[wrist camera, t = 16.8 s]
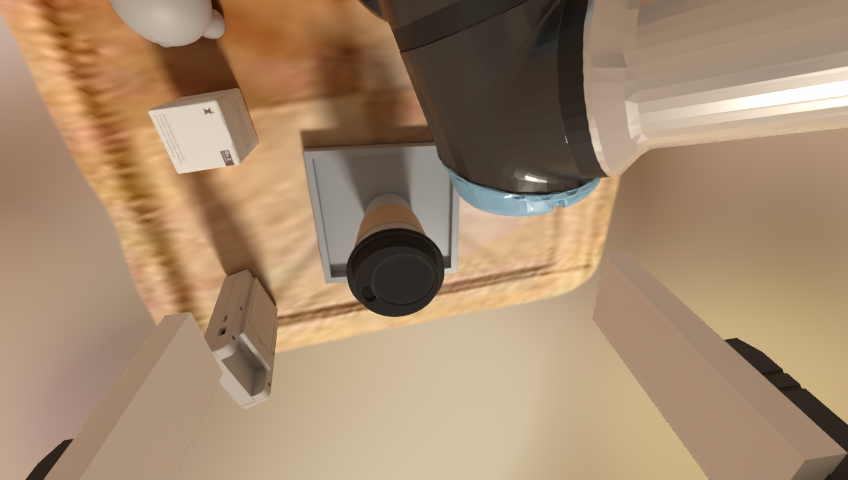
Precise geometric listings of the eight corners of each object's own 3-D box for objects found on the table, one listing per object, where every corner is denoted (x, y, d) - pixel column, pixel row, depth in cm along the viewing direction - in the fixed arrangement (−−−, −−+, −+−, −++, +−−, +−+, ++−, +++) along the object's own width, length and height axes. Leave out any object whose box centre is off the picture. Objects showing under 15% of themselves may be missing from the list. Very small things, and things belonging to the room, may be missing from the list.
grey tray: (305, 147, 43) (303, 151, 41) (458, 140, 44) (461, 144, 43) (327, 275, 51) (325, 283, 50) (454, 265, 53) (456, 272, 51)
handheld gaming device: (251, 265, 49) (222, 277, 49) (231, 342, 36) (193, 358, 36) (283, 314, 54) (257, 324, 53) (275, 397, 41) (242, 411, 41)
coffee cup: (336, 218, 47) (323, 291, 34) (385, 162, 44) (392, 218, 31) (393, 259, 51) (401, 337, 38) (442, 210, 48) (469, 276, 35)
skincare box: (181, 96, 39) (143, 109, 32) (240, 86, 39) (215, 97, 33) (206, 153, 42) (176, 175, 35) (261, 144, 42) (241, 164, 36)
